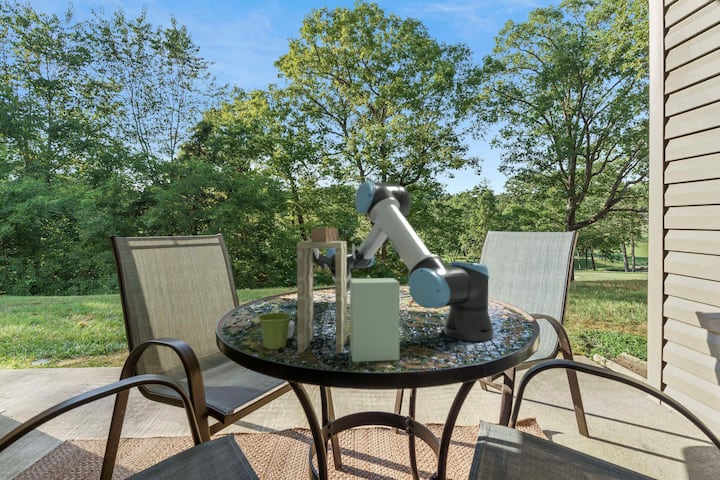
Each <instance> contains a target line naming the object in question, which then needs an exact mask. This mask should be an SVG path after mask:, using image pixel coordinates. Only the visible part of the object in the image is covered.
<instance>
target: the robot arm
mask: <svg viewBox="0 0 720 480" xmlns="http://www.w3.org/2000/svg"><path fill="white" fill-rule="evenodd" d="M354 203H355V209H356V211H357V212H358V213H359V214H362V215H367V216H368V217H369V219H370V221H371V222H372V223H373V224H374V225H373V226H372V227H371V229H370V231H369V232H368V233H367V235H366V237H365V238H364V240H363V241H362V242H361V244H360V245H359V246H358V247H357V249H356V246H355V243H352V244H351V251H347V293H348V292H350V279H353V278H352V273H351V269H353V270H357V269H366V268H370V267H372V266H373V265H374V262H375V256H374V255H375V254H376V252H378V250H379V249H380V247H382V245H383V244H384V242H385V241H386V240H387V239H388V240H389V241H390V243H391V244H392V246H393V248H394V249H395V250H396V253H397V254H398V255H399V256H400V258H401V259H402V261H403V263H404V264H405V266H406V267H407V268H408V274H407V275H408V281H407V285H408V287H409V289H408V291H409V295H410V297H411V298H412V300H413V302H415V303H416V304H417V305H418V306H420V307H422V308H424V309H440V308H441V309H442V308H443V307H449V311H448V314H447V317H446V320H445V322H444V326H443V327H444V328H443V329H444V331H443V332H444V335H446V336H447V337H449V338H452V339H454V340H459V341H465V342H484V341H485V342H486V341H490V340H492V339H494V337H495V331H494V330H495V329H494V327H493V323H492V319H491V317H490V314H489V280H490V279H489V278H490V276H489V268H488V266H487V264H485V263H484V264H483V263H475V262H466V261H465V262H464V261H456V260H451V262H450V263H449V266H448V265H447V264H446V263H445V262H444V260H443V259H442V257H441V256H439V255H436V254H433V253H432V252H431V250H429V248H428V247H427V246H426V244H425V243H424V242H423V240H422V239H421V237H420V236H419V235H418V234H417V232H416V231H415V229H414V228H413V227H412V225H411V224H410V223H409V221H408V219H406V217H407V215H408V214H409V211H410V209H411V206H412V205H411V204H412V201H411V196H410V193H409V191H408V190H407V189H406V187H404V186H402V185H401V184H398V183H387V182H378V181H377V182H376V181H373V180H372V181H364V182H362V183H361V184H360V185H359V186H358V188H357V190H356V193H355V200H354ZM313 264H316V265H317V266H319V267H320V269H321V270H325V269H326V268H329V269H330V273H331V276H332V278H333V282H334V285H335V286H336V267H335V248H328V249H327V251H326V252H325V255H323V254H321V253H320V250H319V248H313Z"/></svg>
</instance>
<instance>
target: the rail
mask: <svg viewBox="0 0 720 480" xmlns="http://www.w3.org/2000/svg"><path fill="white" fill-rule="evenodd" d="M310 229H311V231H310V232H311V240H310V241H312V242H331V241H339V228H337V227H311V228H310Z"/></svg>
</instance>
